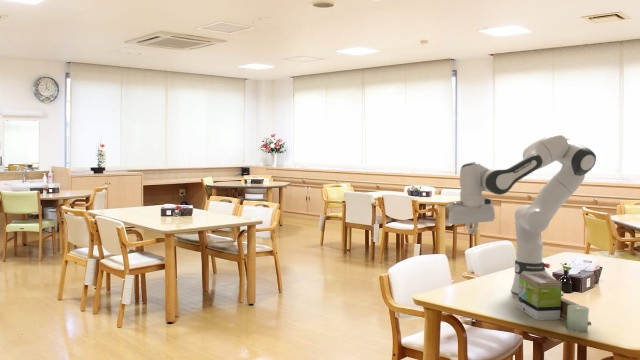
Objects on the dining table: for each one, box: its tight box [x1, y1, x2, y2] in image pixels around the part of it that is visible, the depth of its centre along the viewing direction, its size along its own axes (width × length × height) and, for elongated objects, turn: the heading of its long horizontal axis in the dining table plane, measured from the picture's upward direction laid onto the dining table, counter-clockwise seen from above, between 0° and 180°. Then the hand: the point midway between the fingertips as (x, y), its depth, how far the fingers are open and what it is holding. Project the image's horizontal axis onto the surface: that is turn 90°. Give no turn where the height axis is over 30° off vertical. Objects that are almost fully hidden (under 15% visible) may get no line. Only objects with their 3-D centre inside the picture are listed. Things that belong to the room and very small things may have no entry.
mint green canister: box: [566, 304, 590, 333], centre depth 211 cm, size 7×7×8 cm
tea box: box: [517, 273, 563, 321], centre depth 228 cm, size 15×10×15 cm
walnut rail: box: [560, 296, 592, 325], centre depth 228 cm, size 7×24×7 cm, turn 13°
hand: (472, 233), depth 247 cm, fingers closed
